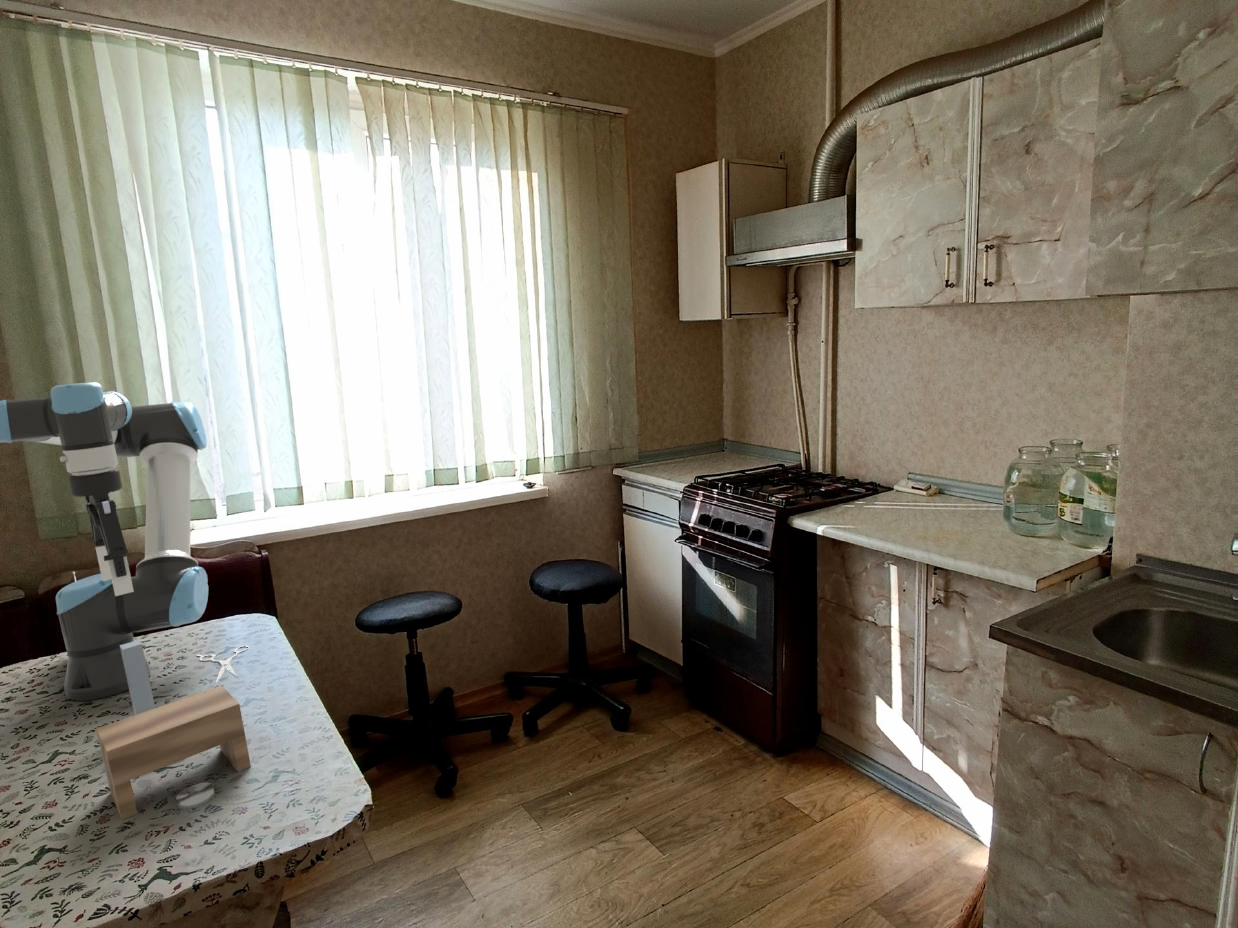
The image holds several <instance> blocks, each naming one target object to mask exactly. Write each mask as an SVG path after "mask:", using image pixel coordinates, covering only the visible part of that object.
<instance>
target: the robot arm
mask: <svg viewBox="0 0 1238 928" xmlns="http://www.w3.org/2000/svg"><path fill="white" fill-rule="evenodd" d="M15 442H32V443H41V444H49V445H58V446H61V450H62V454H64V455H62V456H59V461H60V462H61V463H64V462H65V467H66V471H67V472H68V473H70V474H71V475H69V477H68V482H69V483H68V484H69V488H70V492H71V496H73V497H74V498H75V497H77V498H83V497H84V498H85V500H86V505H85V510H86V512H87V515H88V519H89V525H90V532H91V540H92V541H93V545H94V546H95V547H94V548H95V551H96V556H97V561H98V566H99V572H100V573H98V574H94V575H89V576H87V577H85V578H81V579H78V580H76V582H75V581H74V582H71V583H69V584H67V585H65V586H64V587H62V588H61V589H60V590H59V591H58V592H57V593H56V595H55V603H56V615H58V616H57V617H58V620H59V624H60V628H61V629H60V630H61V633H62V636H63V641H64V645H65V649H66V650H65V651H66V652H67V666H66V671H65V679H64V682H63V688H64V689H63V690H64V694H65V697H67V698H69V699H72V700H71V701H73V700H77V701H76V702H83V701H84V700H85V701H93V700H98V699H102V698H107V697H110V696H115V695H117V694H119V693H123V692H125V691H129V687H128V682H127V677H126V673H125V668H124V663H123V658H122V654H121V649H120V645H123V644H126V643H130V642H133V641H135V638H134V633H141V632H145V631H153V630H158V629H164V628H170V627H179V626H181V625H186V624H191V623H194V622H197V621H198V620H199V619H200V618H201V617H202V616H203V614H204V613H205V611H206V608H207V604H208V599H209V598H208V597H209V585H208V581H209V579H208V574H207V572H206V570H205V569H204V567H201V566H199V562H198V560H196V559H195V558H194V557H192V556H191V465H192V464H193V463H196V461H197V459H198V457H199V455H198V454H199V453H198V452H199V450H200V451H202V450H205V449H206V448H207V444H208V441H207V435H206V431H205V427H204V424H203V421H202V418H201V415H200V413H199V411H198V409H197V407H196V406H195V405H194V404H193V403H192V402H189V401H181V402H179V401H178V402H177V401H176V402H175V401H171V402H169V403H157V404H148V405H147V404H145V405H137V406H136V405H135V406H132V405H131V403H130V401H129V400H128V398H127V397H126V396H124V395H123V394H122V393H119V392H116V391H111V390H107V389H106V390H105V389H104V390H103V387H102V384H100V383H99V382H96V381H95V382H93V381H91V382H79V383H70V384H61V385H55V386H53V387H52V388H51V390H50V396H45V397H44V396H43V397H33V398H21V399H20V398H19V399H8V400H7V399H2V400H0V444H1V443H9V444H12V443H15ZM118 457H119V458H134V457H139V458H140V460H141V461H142V462H143V463H145V464H146V494H145V495H146V496H145V497H146V499H145V500H146V501H145V536H144V540H145V541H144V558H143V559H141V560H140V561H139V562H137V564H136V566H135V567H136V568H135V576H131V572H130V567H129V562H128V561H129V560H128V557H127V556H128V553H129V550H128V549H127V546H126V543H125V542H126V541H125V539H124V535H123V531H122V527H121V525H120V520H119V516H118V513H117V505H116V502H115V500H114V499H110V496H109V494H110V493H115V492H117V491H120V490H121V489H122V488H123V482H122V477H121V473H120V470H118V468H116V467H117V466H118V465H119V461H118V460H119V459H118ZM145 661H146V666H147V671H148V675H149V677H150V676H151V673H152V671H151V668H150V667H151V666H150V664H149V661H148V659H147V658H146V657H145ZM67 698H66V699H67ZM69 699H68V700H69ZM79 700H80V701H79ZM85 701H84V702H85Z"/></svg>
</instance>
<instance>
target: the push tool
mask: <svg viewBox="0 0 1238 928" xmlns="http://www.w3.org/2000/svg"><path fill="white" fill-rule="evenodd" d="M143 647H144V646H143V643H142V642H141V641H140V640H139V639H138V640H134V641H133V642H130V643H126V644H123V645H120V649H121V654H122V658H123V663H124V668H125V673H126V677H127V682H128V687H129V689H128V692H129V695H130V701H131V705H132V709H133V714H134V715H137V714H140V713H143V712H146V711H149V710H152V709H155V708H156V705H155V701H154V700H155V699H154V696H153V691H152V686H151V681H150V676H149V675H148V671H147V666H146V661H145V658H146V657H145V653H144V648H143ZM134 715H133V716H134Z"/></svg>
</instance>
